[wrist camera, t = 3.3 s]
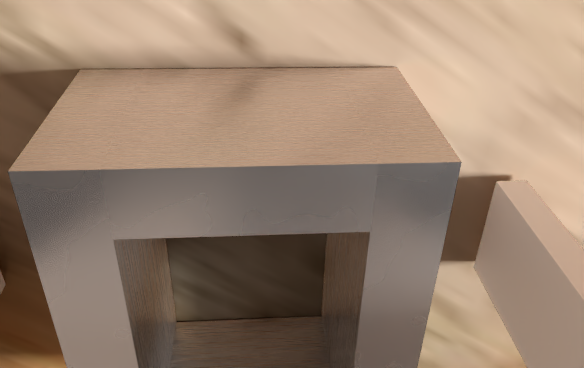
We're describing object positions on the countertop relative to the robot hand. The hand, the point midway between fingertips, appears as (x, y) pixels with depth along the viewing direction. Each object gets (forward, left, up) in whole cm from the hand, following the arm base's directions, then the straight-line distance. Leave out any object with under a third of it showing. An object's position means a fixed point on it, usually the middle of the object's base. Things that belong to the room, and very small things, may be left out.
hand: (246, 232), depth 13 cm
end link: (0, 0, 0) cm, 0 cm away
